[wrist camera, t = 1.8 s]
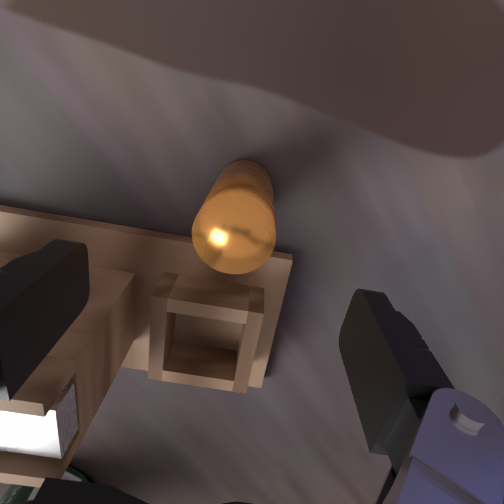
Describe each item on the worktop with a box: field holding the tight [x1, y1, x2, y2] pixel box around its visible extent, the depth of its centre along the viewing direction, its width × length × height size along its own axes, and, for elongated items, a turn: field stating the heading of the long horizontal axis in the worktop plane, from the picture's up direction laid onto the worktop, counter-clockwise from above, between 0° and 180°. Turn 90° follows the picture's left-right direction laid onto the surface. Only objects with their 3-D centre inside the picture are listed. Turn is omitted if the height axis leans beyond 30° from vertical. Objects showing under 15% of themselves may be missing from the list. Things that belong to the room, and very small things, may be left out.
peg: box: [192, 160, 276, 274], centre depth 18 cm, size 4×4×8 cm
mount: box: [0, 205, 293, 488], centre depth 20 cm, size 22×12×12 cm, turn 80°
